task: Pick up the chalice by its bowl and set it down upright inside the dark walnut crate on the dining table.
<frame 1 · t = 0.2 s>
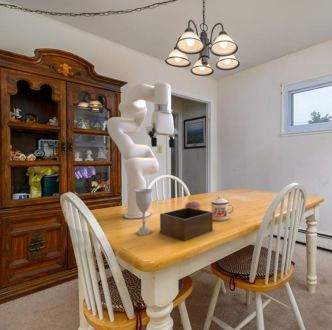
hand: (163, 147, 105), 37 cm above the table, tool pointing down, fingers open, 9 cm apart
red onion: (192, 214, 124), on the table
teacup with lid: (222, 218, 116), on the table
crate: (186, 231, 95), on the table
chalice: (144, 233, 94), on the table
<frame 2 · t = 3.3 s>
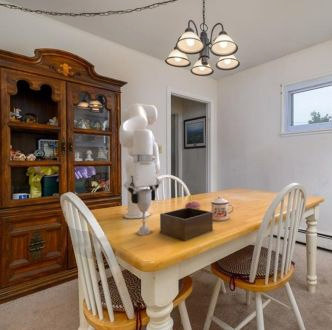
hand: (143, 201, 93), 13 cm above the table, tool pointing down, fingers closed on chalice, 7 cm apart
chalice: (144, 233, 94), on the table, touching gripper
everything else where it was.
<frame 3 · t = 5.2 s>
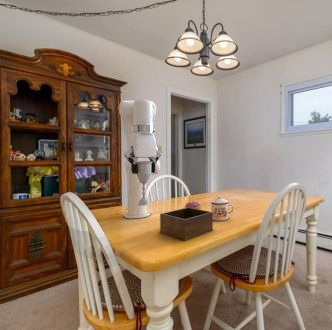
hand: (143, 172, 93), 25 cm above the table, tool pointing down, fingers closed on chalice, 7 cm apart
chalice: (144, 204, 94), point 12 cm above the table, touching gripper
everything else where it was.
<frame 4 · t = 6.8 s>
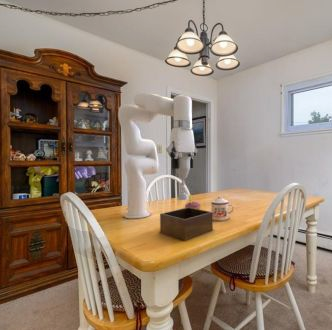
hand: (183, 167, 94), 27 cm above the table, tool pointing down, fingers closed on chalice, 7 cm apart
chalice: (183, 199, 95), point 14 cm above the table, touching gripper
everything else where it was.
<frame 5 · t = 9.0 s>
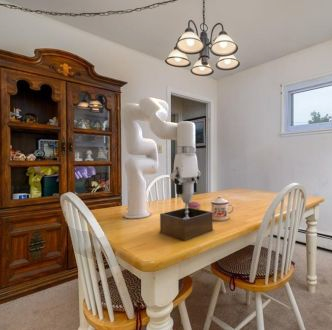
hand: (186, 192, 95), 17 cm above the table, tool pointing down, fingers closed on chalice, 7 cm apart
chalice: (186, 223, 95), point 3 cm above the table, touching gripper
everything else where it was.
when the fingers open (14 cm above the table, at t = 10.4 s): chalice stays where it is, resting on crate.
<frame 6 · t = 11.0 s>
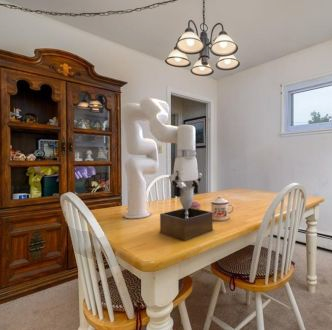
hand: (186, 194, 95), 16 cm above the table, tool pointing down, fingers open, 9 cm apart
chalice: (186, 229, 95), point 1 cm above the table, touching crate
everything else where it was.
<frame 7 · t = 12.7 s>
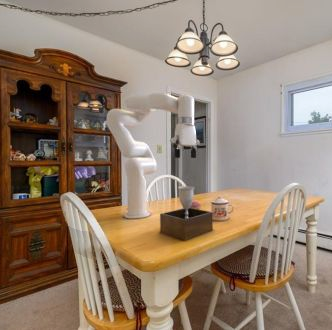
hand: (185, 157, 107), 31 cm above the table, tool pointing down, fingers open, 9 cm apart
nothing on the table moved.
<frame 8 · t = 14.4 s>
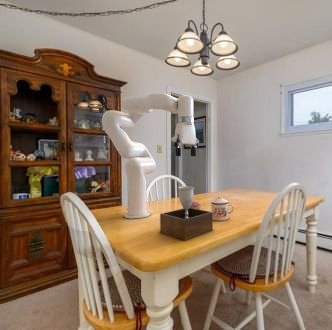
hand: (186, 156, 111), 32 cm above the table, tool pointing down, fingers open, 9 cm apart
nothing on the table moved.
at the end: chalice inside the target area in the crate (0.1 cm from its centre), point 0.8 cm above the crate's base; chalice tilted 0°; the gripper is holding nothing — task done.
